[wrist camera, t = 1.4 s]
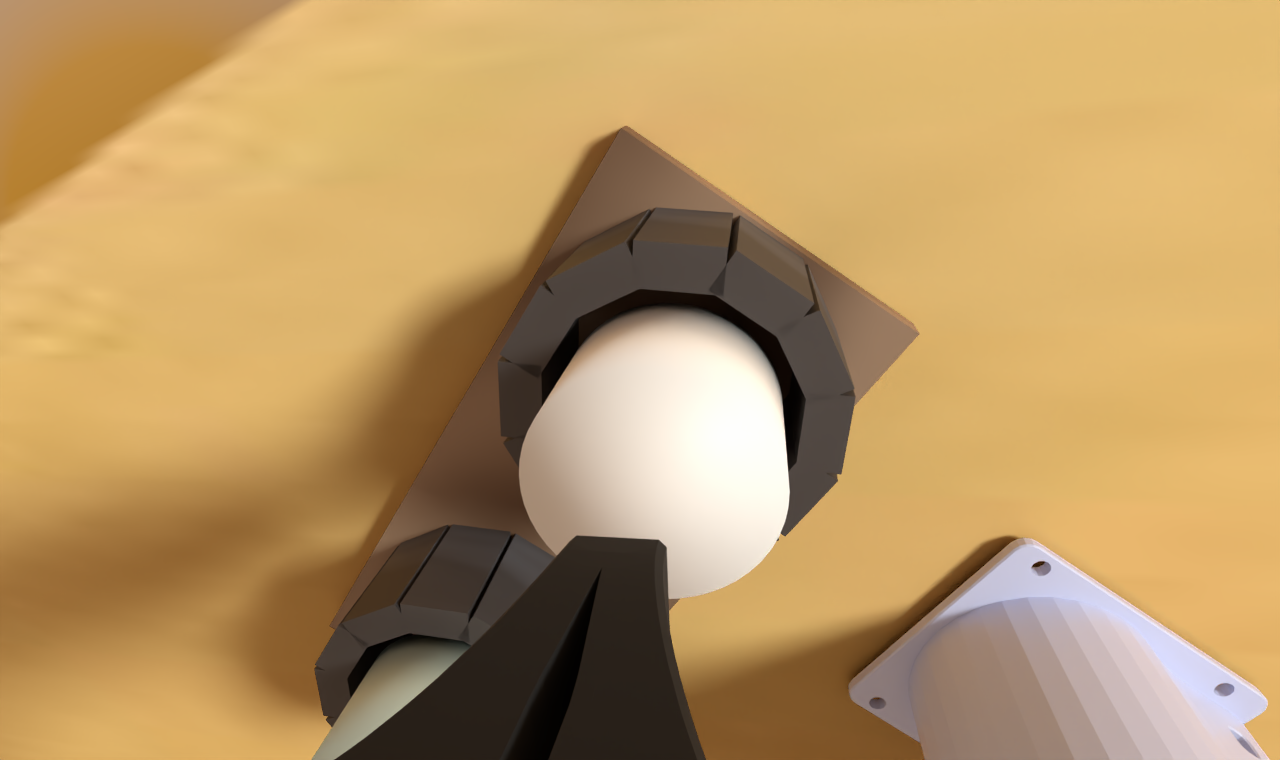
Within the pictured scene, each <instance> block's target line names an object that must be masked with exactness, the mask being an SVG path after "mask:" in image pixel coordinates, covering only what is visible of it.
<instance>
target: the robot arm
mask: <svg viewBox="0 0 1280 760" xmlns="http://www.w3.org/2000/svg"><path fill="white" fill-rule="evenodd" d="M1038 561H1045V563H1044V564H1043V565H1041V566H1040V567H1032V566H1033V564H1034V563H1036V562H1038ZM1222 683H1223V684H1222ZM1219 684H1221V685H1219ZM1217 685H1219V686H1217ZM848 689H849V696H850V698H851V700H852V701H853V702H855V703H856V704H858V705H859V706H861V707H862V708H864V709H866V710H867V711H869V712H871V713H872V714H874V715H875V716H877V717H879V718H880V719H882V720H884V721H885V722H887V723H888V724H890V725H892V726H893V727H895V728H897V729H898V730H900V731H901V732H903V733H905V734H906V735H908V736H910V737H911V738H913V739H914V740H916V741H918V742H919V743H921V747H922V751H923V755H924V759H925V760H1270V759H1269V758H1268V757H1267V755H1266V754H1265V753H1264V751H1263V750H1262V749H1261V747H1260V746H1259V745H1258V743H1257V742H1256V741H1255V739H1254V738H1253V737H1252V735H1251V734H1250V733H1249V731H1248V730H1247V729H1246V727H1245V726H1244V725H1243V724H1245V723H1247V722H1248V721H1250V720H1252V719H1253V718H1255V717H1256V716H1258V715H1260V714H1261V713H1262V712H1263V711H1265V709H1266V707H1267V705H1268V702H1267V699H1266V698H1265V697H1264V695H1263V694H1262V693H1261V692H1260V691H1259V690H1258V688H1256V687H1255V686H1253V685H1252V684H1250V683H1249V682H1247V681H1246V680H1244V679H1243V678H1241V677H1240V676H1238V675H1237V674H1235V673H1234V672H1232V671H1231V670H1229V669H1228V668H1226V667H1225V666H1223V665H1222V664H1220V663H1219V662H1217V661H1216V660H1214V659H1213V658H1211V657H1210V656H1208V655H1207V654H1205V653H1204V652H1202V651H1201V650H1199V649H1198V648H1196V647H1195V646H1193V645H1192V644H1190V643H1189V642H1187V641H1186V640H1184V639H1183V638H1181V637H1180V636H1178V635H1177V634H1175V633H1174V632H1172V631H1171V630H1169V629H1168V628H1166V627H1165V626H1163V625H1162V624H1160V623H1159V622H1157V621H1156V620H1154V619H1153V618H1151V617H1150V616H1148V615H1147V614H1145V613H1144V612H1142V611H1141V610H1139V609H1138V608H1136V607H1135V606H1133V605H1132V604H1130V603H1129V602H1127V601H1126V600H1124V599H1123V598H1121V597H1120V596H1118V595H1117V594H1115V593H1114V592H1112V591H1111V590H1109V589H1108V588H1106V587H1105V586H1103V585H1102V584H1100V583H1099V582H1097V581H1096V580H1094V579H1093V578H1091V577H1090V576H1088V575H1087V574H1085V573H1084V572H1082V571H1081V570H1079V569H1078V568H1076V567H1075V566H1073V565H1072V564H1070V563H1069V562H1067V561H1066V560H1064V559H1063V558H1061V557H1060V556H1058V555H1057V554H1055V553H1054V552H1052V551H1051V550H1049V549H1048V548H1046V547H1045V546H1043V545H1042V544H1040V543H1039V542H1037V541H1036V540H1033V539H1031V538H1020V539H1016V540H1014V541H1013V542H1011V543H1009V544H1008V545H1007V546H1006V547H1005V548H1004V549H1003V550H1001V551H1000V552H999V553H998V554H997V555H996V556H994V557H993V558H992V559H991V560H990V561H989V562H987V563H986V564H985V565H984V566H983V567H982V568H981V569H979V570H978V571H977V572H976V573H975V574H974V575H972V576H971V577H970V578H969V579H968V580H967V581H965V582H964V583H963V584H962V585H961V586H960V587H959V588H957V589H956V590H955V591H954V592H953V593H952V594H950V595H949V596H948V597H947V598H946V599H945V600H943V601H942V602H941V603H940V604H939V605H938V606H937V607H935V608H934V609H933V610H932V611H931V612H930V613H928V614H927V615H926V616H925V617H924V618H923V619H921V620H920V621H919V622H918V623H917V624H916V625H915V626H913V627H912V628H911V629H910V630H909V631H908V632H906V633H905V634H904V635H903V636H902V637H901V638H899V639H898V640H897V641H896V642H895V643H894V644H893V645H891V646H890V647H889V648H888V649H887V650H886V651H884V652H883V653H882V654H881V655H880V656H879V657H877V658H876V659H875V660H874V661H873V662H872V663H871V664H869V665H868V666H867V667H866V668H865V669H864V670H862V671H861V672H860V673H859V674H858V675H857V676H856V677H854V678H853V679H852V680H851V681H850V683H849V686H848ZM875 697H879V698H880V699H873V698H875ZM334 760H706V758H705V755H704V753H703V750H702V747H701V744H700V741H699V739H698V735H697V732H696V729H695V726H694V723H693V720H692V717H691V714H690V710H689V707H688V704H687V700H686V697H685V693H684V690H683V686H682V682H681V679H680V675H679V671H678V667H677V663H676V659H675V655H674V650H673V645H672V640H671V635H670V625H669V597H668V569H667V547H666V546H665V545H664V544H663V543H662V542H661V541H660V540H656V539H637V538H617V537H598V536H579V535H576V536H575V537H574V538H573V539H572V540H571V541H569V542H568V544H567V545H566V546H565V547H564V548H563V549H562V550H561V551H560V553H559V554H558V555H557V556H556V557H555V558H554V559H553V561H552V562H551V563H550V564H549V565H548V566H547V567H546V569H545V570H544V571H543V572H542V573H541V574H540V575H539V576H538V577H537V579H536V580H535V581H534V582H533V583H532V584H531V585H530V586H529V587H528V588H527V590H526V591H525V592H524V593H523V594H522V595H521V596H520V597H519V598H518V599H517V600H516V601H515V602H514V603H513V604H512V605H511V606H510V608H509V609H508V610H507V611H506V612H505V613H504V614H503V615H502V616H501V617H500V618H499V619H498V620H497V621H496V622H495V623H494V624H493V625H492V626H491V627H490V628H489V629H488V630H487V631H486V632H485V633H484V634H483V635H482V636H481V637H480V638H479V639H478V640H477V641H476V642H475V643H474V644H473V645H472V646H471V647H470V648H469V649H468V650H467V651H465V652H464V653H463V654H462V655H461V656H460V657H459V658H458V659H457V660H456V661H455V662H454V663H453V664H452V665H451V666H449V667H448V668H447V669H446V670H445V671H444V672H443V673H442V674H441V675H440V676H439V677H438V678H437V679H435V680H434V681H433V682H432V683H431V684H430V685H429V686H428V687H426V688H425V689H424V690H423V691H422V692H421V693H419V694H418V695H417V696H416V697H415V698H414V699H412V700H411V701H410V702H409V703H408V704H406V705H405V706H404V707H403V708H402V709H400V710H399V711H398V712H397V713H395V714H394V715H393V716H392V717H390V718H389V719H388V720H387V721H385V722H384V723H383V724H382V725H381V726H379V727H378V728H377V729H376V730H374V731H373V732H372V733H370V734H369V735H368V736H367V737H365V738H364V739H363V740H361V741H360V742H358V743H357V744H356V745H354V746H353V747H352V748H350V749H349V750H347V751H346V752H344V753H343V754H342V755H340V756H339V757H337V758H336V759H334Z"/></svg>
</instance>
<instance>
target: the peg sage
mask: <svg viewBox="0 0 1280 760" xmlns="http://www.w3.org/2000/svg"><path fill="white" fill-rule="evenodd" d="M470 647H471V645H469V644H468V643H466V642H464V641H460V640H453V639H447V638H440V637H433V636H426V635H420V634H419V635H412V636H408V637H405V638H402V639H400V640H397V641H395V642H393V643H392V644H390V645H388V646H387V647H386V648H385V649H384V650H383V651H382V652H381V653H380V654H379V656H378V657H377V658H376V660H375V661H374V663H373V665H372V666H371V668H370V669H369V671H368V672H367V674H366V675H365V677H364V679H363V680H362V682H361V683H360V685H359V686H358V688H357V690H356V691H355V693H354V694H353V696H352V697H351V699H350V700H349V702H348V704H347V705H346V707H345V708H344V710H343V711H342V713H341V714H340V716H339V718H338V719H337V721H336V722H335V724H334V725H333V727H332V728H331V730H330V732H329V733H328V735H327V736H326V738H325V739H324V741H323V742H322V744H321V746H320V747H319V749H318V750H317V752H316V753H315V755H314V757H313V758H312V760H334V759H336V758H337V757H339V756H340V755H342V754H343V753H344V752H346V751H347V750H349V749H350V748H352V747H353V746H354V745H356V744H357V743H358V742H360V741H361V740H363V739H364V738H365V737H367V736H368V735H369V734H370V733H372V732H373V731H374V730H376V729H377V728H378V727H379V726H381V725H382V724H383V723H384V722H385V721H387V720H388V719H389V718H390V717H392V716H393V715H394V714H395V713H397V712H398V711H399V710H400V709H402V708H403V707H404V706H405V705H406V704H408V703H409V702H410V701H411V700H412V699H414V698H415V697H416V696H417V695H418V694H419V693H421V692H422V691H423V690H424V689H425V688H426V687H428V686H429V685H430V684H431V683H432V682H433V681H434V680H435V679H437V678H438V677H439V676H440V675H441V674H442V673H443V672H444V671H445V670H446V669H447V668H448V667H449V666H451V665H452V664H453V663H454V662H455V661H456V660H457V659H458V658H459V657H460V656H461V655H462V654H463V653H464V652H465V651H467V650H468V649H469V648H470Z"/></svg>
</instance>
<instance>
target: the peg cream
mask: <svg viewBox="0 0 1280 760" xmlns="http://www.w3.org/2000/svg"><path fill="white" fill-rule="evenodd" d="M519 481H520V490H521V494H522V498H523V502H524V506H525V508H526V511H527V513H528V516H529V518H530V520H531V522H532V524H533V525H534V527H535V529H536V531H537V532H538V534H539V535H540V537H541V538H542V539H543V541H544V542H545V543H546V545H547V546H548V547H549V548H550V549H551V550H552V551H553V552H554V553H555V554H556V555H558V554H559V553H560V551H561V550H562V549H563V548H564V547H565V546H566V545H567V544H568V542H569V541H571V540H572V539H573V538H574V537H575V536H576V535H579V536H598V537H617V538H637V539H656V540H660V541H661V542H662V543H663V544H664V545H665V546H666V547H667V569H668V597H669V599H679V598H686V597H694V596H698V595H702V594H706V593H710V592H712V591H715V590H718V589H720V588H723V587H725V586H727V585H729V584H731V583H733V582H735V581H737V580H739V579H740V578H741V577H743V576H744V575H746V574H747V573H749V572H750V571H751V570H752V569H753V568H755V567H756V566H757V565H758V564H759V563H760V562H761V561H762V560H763V559H764V558H765V556H766V555H767V554H768V553H769V551H770V550H771V549H772V547H773V546H774V544H775V542H776V541H777V539H778V537H779V535H780V533H781V531H782V528H783V526H784V523H785V520H786V516H787V511H788V507H789V494H790V489H789V477H788V465H787V453H786V441H785V428H784V416H783V404H782V393H781V388H780V384H779V380H778V377H777V375H776V372H775V369H774V367H773V365H772V363H771V362H770V360H769V358H768V356H767V354H766V353H765V352H764V350H763V349H762V348H761V347H760V345H759V344H758V343H757V342H756V341H755V340H754V339H753V338H752V337H751V336H750V335H749V334H748V333H747V332H746V331H745V330H743V329H742V328H741V327H740V326H738V325H737V324H736V323H734V322H732V321H731V320H729V319H727V318H725V317H724V316H722V315H720V314H717V313H715V312H712V311H710V310H708V309H704V308H700V307H697V306H693V305H687V304H680V303H657V304H648V305H644V306H639V307H635V308H632V309H629V310H627V311H624V312H621V313H619V314H617V315H616V316H614V317H612V318H610V319H608V320H607V321H605V322H604V323H603V324H601V325H600V326H599V327H597V328H596V329H595V330H594V331H593V332H592V333H591V334H590V335H589V336H588V337H587V338H586V339H585V341H584V342H583V343H582V345H581V346H580V347H579V349H578V350H577V352H576V353H575V355H574V357H573V358H572V360H571V361H570V363H569V365H568V366H567V368H566V369H565V371H564V372H563V374H562V376H561V377H560V379H559V380H558V382H557V384H556V385H555V387H554V388H553V390H552V391H551V393H550V395H549V396H548V398H547V399H546V401H545V403H544V404H543V406H542V407H541V409H540V411H539V412H538V414H537V415H536V417H535V419H534V420H533V422H532V424H531V426H530V428H529V429H528V431H527V434H526V437H525V440H524V442H523V445H522V450H521V455H520V460H519Z"/></svg>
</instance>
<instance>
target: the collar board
mask: <svg viewBox="0 0 1280 760" xmlns="http://www.w3.org/2000/svg"><path fill="white" fill-rule="evenodd" d="M657 303H680V304H687V305H693V306H697V307H700V308H704V309H708V310H710V311H712V312H715V313H717V314H720V315H722V316H724V317H725V318H727V319H729V320H731V321H732V322H734V323H736V324H737V325H738V326H740V327H741V328H742V329H743V330H745V331H746V332H747V333H748V334H749V335H750V336H751V337H752V338H753V339H754V340H755V341H756V342H757V343H758V344H759V345H760V347H761V348H762V349H763V350H764V352H765V353H766V354H767V356H768V358H769V360H770V362H771V363H772V365H773V367H774V369H775V372H776V375H777V377H778V380H779V384H780V388H781V393H782V404H783V416H784V428H785V441H786V453H787V465H788V477H789V489H790V494H789V507H788V511H787V516H786V520H785V523H784V526H783V528H782V531H781V534H782V535H784V536H786V535H787V534H788V533H789V532H790V531H791V530H792V529H793V528H794V527H795V526H796V525H797V524H798V522H799V521H800V520H801V519H802V518H803V517H804V516H805V515H806V514H807V513H808V512H809V511H810V510H811V509H812V508H813V507H814V506H815V505H816V504H817V502H818V501H819V500H820V499H821V498H822V497H823V496H824V495H825V494H826V493H827V492H828V491H829V490H830V489H831V488H832V487H833V486H834V485H835V483H836V482H837V481H838V479H837V474H841V473H842V468H843V463H844V457H845V452H846V446H847V441H848V436H849V430H850V425H851V419H852V414H853V409H854V406H855V405H856V404H857V402H858V401H859V400H860V399H861V398H862V397H863V396H864V395H865V394H866V392H867V391H868V390H869V389H870V388H871V387H872V386H873V385H874V384H875V383H876V381H877V380H878V379H879V378H880V377H881V376H882V375H883V374H884V373H885V371H886V370H887V369H888V368H889V367H890V366H891V365H892V364H893V363H894V362H895V360H896V359H897V358H898V357H899V356H900V355H901V354H902V353H903V352H904V350H905V349H906V348H907V347H908V346H909V345H910V344H911V343H912V342H913V340H914V339H915V338H916V337H917V336H918V335H919V332H918V331H917V329H916V327H915V326H914V324H913V323H912V322H910V321H909V320H907V319H906V318H904V317H903V316H902V315H900V314H899V313H897V312H896V311H894V310H893V309H891V308H890V307H888V306H887V305H886V304H884V303H883V302H881V301H880V300H878V299H877V298H875V297H874V296H873V295H871V294H870V293H868V292H867V291H865V290H864V289H862V288H861V287H860V286H858V285H857V284H855V283H854V282H852V281H851V280H849V279H848V278H847V277H845V276H844V275H842V274H841V273H839V272H838V271H836V270H835V269H833V268H832V267H831V266H829V265H828V264H826V263H825V262H823V261H822V260H820V259H819V258H818V257H816V256H815V255H813V254H812V253H810V252H809V251H807V250H806V249H805V248H803V247H802V246H800V245H799V244H797V243H796V242H794V241H793V240H792V239H790V238H789V237H787V236H786V235H784V234H783V233H781V232H780V231H779V230H777V229H776V228H774V227H773V226H771V225H770V224H768V223H767V222H765V221H764V220H763V219H761V218H760V217H758V216H757V215H755V214H754V213H752V212H751V211H750V210H748V209H747V208H745V207H744V206H742V205H741V204H739V203H738V202H737V201H735V200H734V199H732V198H731V197H729V196H728V195H726V194H725V193H724V192H722V191H721V190H719V189H718V188H716V187H715V186H713V185H712V184H710V183H709V182H708V181H706V180H705V179H703V178H702V177H700V176H699V175H697V174H696V173H695V172H693V171H692V170H690V169H689V168H687V167H686V166H684V165H683V164H682V163H680V162H679V161H677V160H676V159H674V158H673V157H671V156H670V155H669V154H667V153H666V152H664V151H663V150H661V149H660V148H658V147H657V146H655V145H654V144H653V143H651V142H650V141H648V140H647V139H645V138H644V137H642V136H641V135H640V134H638V133H637V132H635V131H634V130H632V129H631V128H629V127H628V126H625V127H622V128H621V129H620V131H619V133H618V134H617V136H616V138H615V139H614V141H613V143H612V145H611V146H610V148H609V150H608V151H607V153H606V155H605V157H604V158H603V160H602V162H601V163H600V165H599V167H598V168H597V170H596V172H595V174H594V175H593V177H592V179H591V180H590V182H589V184H588V186H587V187H586V189H585V191H584V192H583V194H582V196H581V198H580V199H579V201H578V203H577V204H576V206H575V208H574V209H573V211H572V213H571V215H570V216H569V218H568V220H567V221H566V223H565V225H564V227H563V228H562V230H561V232H560V233H559V235H558V237H557V238H556V240H555V242H554V244H553V245H552V247H551V249H550V250H549V252H548V254H547V256H546V257H545V259H544V261H543V262H542V264H541V266H540V268H539V269H538V271H537V273H536V274H535V276H534V278H533V279H532V281H531V283H530V285H529V286H528V288H527V290H526V291H525V293H524V295H523V297H522V298H521V300H520V302H519V303H518V305H517V307H516V308H515V310H514V312H513V314H512V315H511V317H510V319H509V320H508V322H507V324H506V326H505V327H504V329H503V331H502V332H501V334H500V336H499V338H498V339H497V341H496V343H495V344H494V346H493V348H492V349H491V351H490V353H489V355H488V356H487V358H486V360H485V361H484V363H483V365H482V367H481V368H480V370H479V372H478V373H477V375H476V377H475V378H474V380H473V382H472V384H471V385H470V387H469V389H468V390H467V392H466V394H465V396H464V397H463V399H462V401H461V402H460V404H459V406H458V408H457V409H456V411H455V413H454V414H453V416H452V418H451V419H450V421H449V423H448V425H447V426H446V428H445V430H444V431H443V433H442V435H441V437H440V438H439V440H438V442H437V443H436V445H435V447H434V449H433V450H432V452H431V454H430V455H429V457H428V459H427V460H426V462H425V464H424V466H423V467H422V469H421V471H420V472H419V474H418V476H417V478H416V479H415V481H414V483H413V484H412V486H411V488H410V489H409V491H408V493H407V495H406V496H405V498H404V500H403V501H402V503H401V505H400V507H399V508H398V510H397V512H396V513H395V515H394V517H393V519H392V520H391V522H390V524H389V525H388V527H387V529H386V530H385V532H384V534H383V536H382V537H381V539H380V541H379V542H378V544H377V546H376V548H375V549H374V551H373V553H372V554H371V556H370V558H369V559H368V561H367V563H366V565H365V566H364V568H363V570H362V571H361V573H360V575H359V577H358V578H357V580H356V582H355V583H354V585H353V587H352V589H351V590H350V592H349V594H348V595H347V597H346V599H345V600H344V602H343V604H342V606H341V607H340V609H339V611H338V612H337V614H336V616H335V618H334V619H333V621H332V623H331V624H330V627H332V628H334V629H335V632H334V634H333V635H332V637H331V639H330V640H329V642H328V644H327V645H326V647H325V649H324V650H323V652H322V654H321V655H320V657H319V659H318V660H317V662H316V664H315V665H316V667H315V669H314V670H315V675H316V680H317V685H318V690H319V695H320V700H321V705H322V710H323V715H324V716H328V717H327V719H326V721H327V722H328V723H329V724H330V725H331V727H333V725H334V724H335V722H336V721H337V719H338V718H339V716H340V714H341V713H342V711H343V710H344V708H345V707H346V705H347V704H348V702H349V700H350V699H351V697H352V696H353V694H354V693H355V691H356V690H357V688H358V686H359V685H360V683H361V682H362V680H363V679H364V677H365V675H366V674H367V672H368V671H369V669H370V668H371V666H372V665H373V663H374V661H375V660H376V658H377V657H378V656H379V654H380V653H381V652H382V651H383V650H384V649H385V648H386V647H387V646H388V645H390V644H392V643H393V642H395V641H397V640H400V639H402V638H405V637H408V636H412V635H419V634H420V635H426V636H433V637H440V638H447V639H453V640H460V641H464V642H466V643H468V644H469V645H471V646H472V645H473V644H474V643H475V642H476V641H477V640H478V639H479V638H480V637H481V636H482V635H483V634H484V633H485V632H486V631H487V630H488V629H489V628H490V627H491V626H492V625H493V624H494V623H495V622H496V621H497V620H498V619H499V618H500V617H501V616H502V615H503V614H504V613H505V612H506V611H507V610H508V609H509V608H510V606H511V605H512V604H513V603H514V602H515V601H516V600H517V599H518V598H519V597H520V596H521V595H522V594H523V593H524V592H525V591H526V590H527V588H528V587H529V586H530V585H531V584H532V583H533V582H534V581H535V580H536V579H537V577H538V576H539V575H540V574H541V573H542V572H543V571H544V570H545V569H546V567H547V566H548V565H549V564H550V563H551V562H552V561H553V559H554V558H555V557H556V556H557V555H556V554H555V553H554V552H553V551H552V550H551V549H550V548H549V547H548V546H547V545H546V543H545V542H544V541H543V539H542V538H541V537H540V535H539V534H538V532H537V531H536V529H535V527H534V525H533V524H532V522H531V520H530V518H529V516H528V513H527V511H526V508H525V506H524V502H523V498H522V494H521V490H520V481H519V460H520V455H521V450H522V445H523V442H524V440H525V437H526V434H527V431H528V429H529V428H530V426H531V424H532V422H533V420H534V419H535V417H536V415H537V414H538V412H539V411H540V409H541V407H542V406H543V404H544V403H545V401H546V399H547V398H548V396H549V395H550V393H551V391H552V390H553V388H554V387H555V385H556V384H557V382H558V380H559V379H560V377H561V376H562V374H563V372H564V371H565V369H566V368H567V366H568V365H569V363H570V361H571V360H572V358H573V357H574V355H575V353H576V352H577V350H578V349H579V347H580V346H581V345H582V343H583V342H584V341H585V339H586V338H587V337H588V336H589V335H590V334H591V333H592V332H593V331H594V330H595V329H596V328H597V327H599V326H600V325H601V324H603V323H604V322H605V321H607V320H608V319H610V318H612V317H614V316H616V315H617V314H619V313H621V312H624V311H627V310H629V309H632V308H635V307H639V306H644V305H648V304H657ZM778 540H779V537H778V539H777V541H778ZM679 599H680V598H679ZM679 599H669V610H670V609H671V608H672V607H673V606H674V605H675V604H676V603H677V601H678V600H679Z"/></svg>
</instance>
